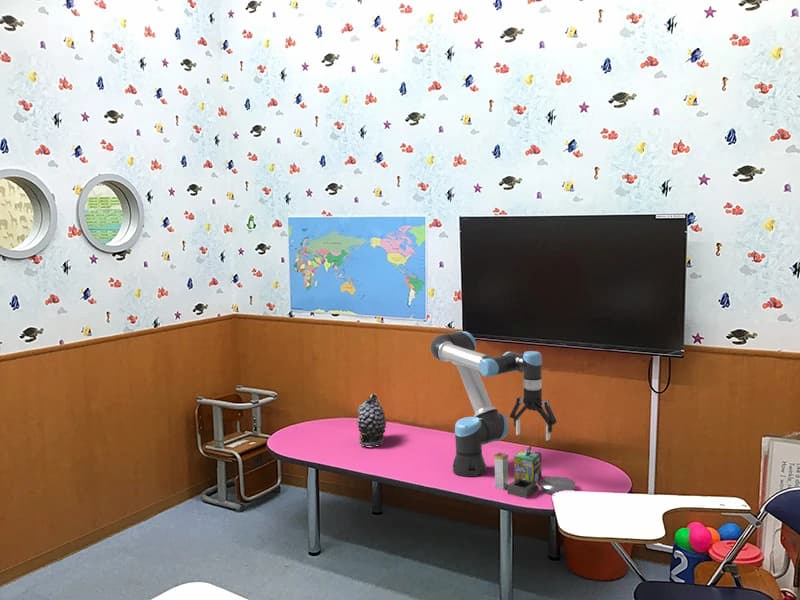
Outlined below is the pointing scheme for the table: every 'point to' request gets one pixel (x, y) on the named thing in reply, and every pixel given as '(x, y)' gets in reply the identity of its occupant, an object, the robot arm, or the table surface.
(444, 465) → the table surface
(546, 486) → the rosette disc
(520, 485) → the socket
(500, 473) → the white rectangular box
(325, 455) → the table surface
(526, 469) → the chalk box
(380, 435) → the dark pine cone
